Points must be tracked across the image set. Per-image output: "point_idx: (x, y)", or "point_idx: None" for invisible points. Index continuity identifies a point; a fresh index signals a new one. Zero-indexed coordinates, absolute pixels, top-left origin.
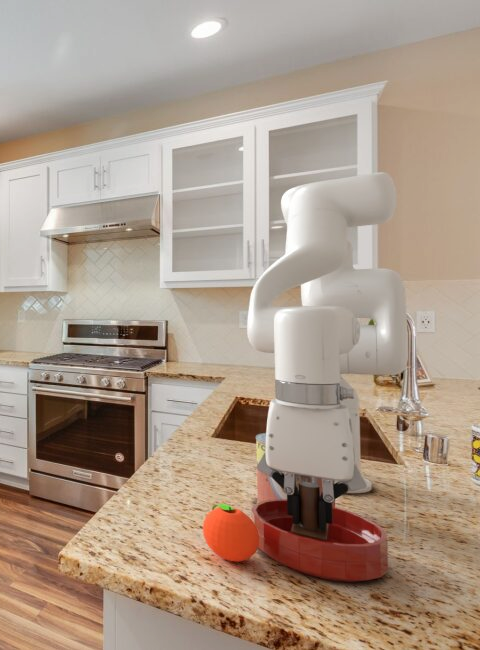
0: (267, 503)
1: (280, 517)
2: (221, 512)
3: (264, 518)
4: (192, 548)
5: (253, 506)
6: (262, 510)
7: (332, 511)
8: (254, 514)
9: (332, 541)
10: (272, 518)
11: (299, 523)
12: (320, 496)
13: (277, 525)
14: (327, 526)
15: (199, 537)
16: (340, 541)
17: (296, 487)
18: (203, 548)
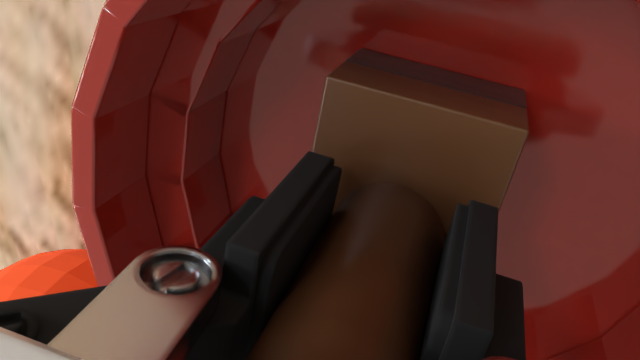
0: (140, 19)
1: (259, 3)
2: None
3: (175, 68)
4: (20, 257)
5: (73, 154)
6: (139, 63)
7: (523, 314)
8: (96, 282)
9: (564, 27)
10: (215, 45)
11: (336, 197)
12: (432, 349)
13: (261, 16)
14: (503, 186)
15: (10, 157)
16: (622, 1)
17: (217, 343)
18: (46, 246)
